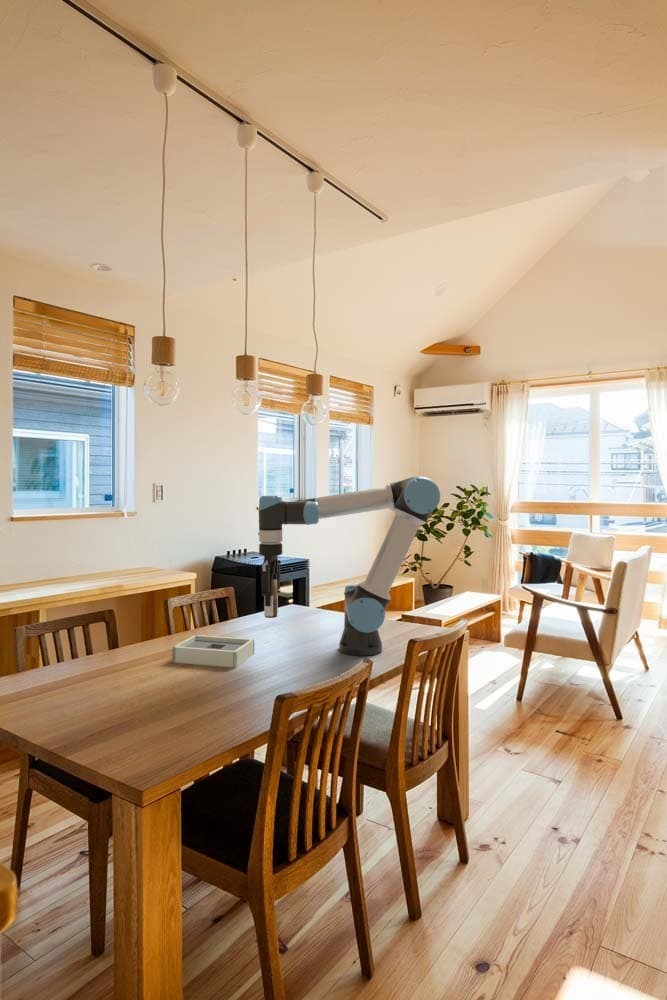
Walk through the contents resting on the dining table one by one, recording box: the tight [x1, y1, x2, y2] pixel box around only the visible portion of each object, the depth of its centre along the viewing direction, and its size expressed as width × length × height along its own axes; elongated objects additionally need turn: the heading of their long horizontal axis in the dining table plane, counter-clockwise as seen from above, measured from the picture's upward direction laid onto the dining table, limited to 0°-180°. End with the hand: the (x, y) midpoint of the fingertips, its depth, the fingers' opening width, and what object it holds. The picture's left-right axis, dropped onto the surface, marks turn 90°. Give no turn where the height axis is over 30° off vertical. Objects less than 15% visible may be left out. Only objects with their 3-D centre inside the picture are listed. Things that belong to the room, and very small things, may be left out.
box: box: [171, 634, 255, 669], centre depth 202 cm, size 22×16×5 cm
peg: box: [264, 579, 278, 619], centre depth 198 cm, size 4×4×12 cm
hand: (271, 614), depth 198 cm, fingers closed on peg, 4 cm apart
